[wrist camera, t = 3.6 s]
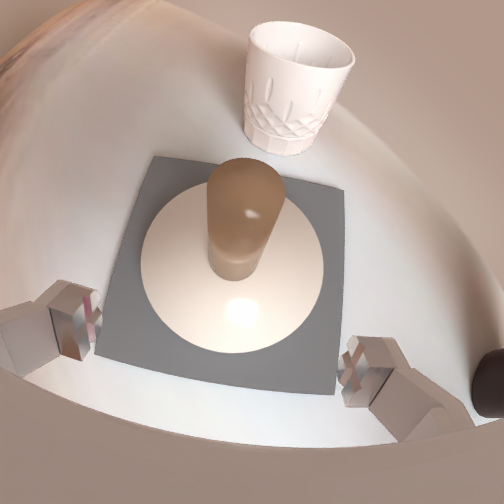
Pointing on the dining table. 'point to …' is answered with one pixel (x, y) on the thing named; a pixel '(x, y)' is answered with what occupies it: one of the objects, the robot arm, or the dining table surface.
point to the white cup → (291, 84)
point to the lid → (233, 261)
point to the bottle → (490, 385)
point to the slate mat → (210, 362)
